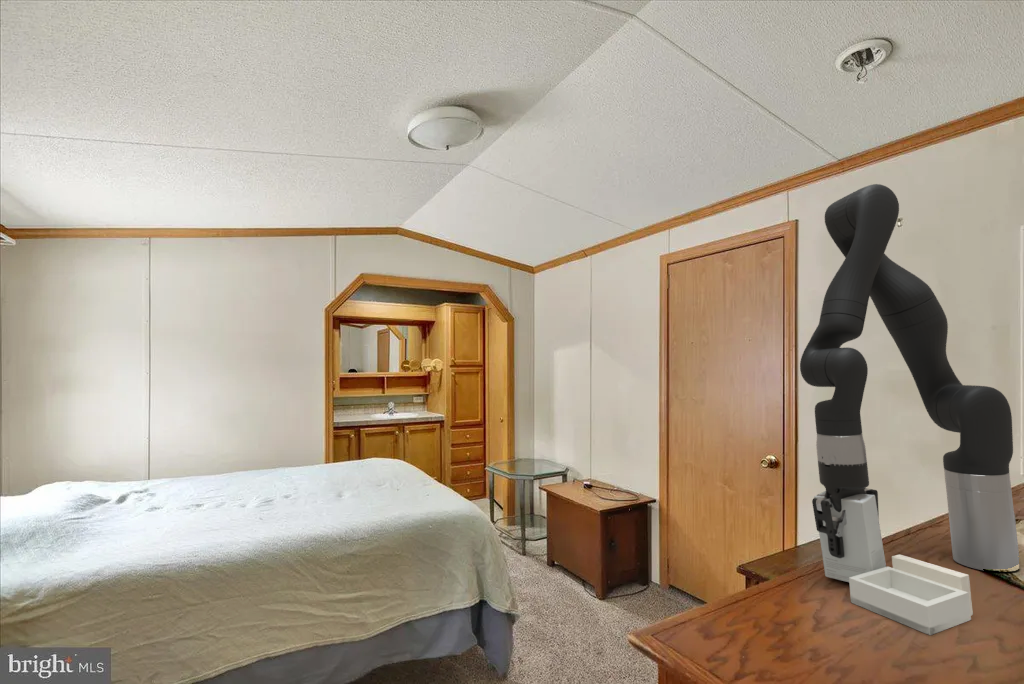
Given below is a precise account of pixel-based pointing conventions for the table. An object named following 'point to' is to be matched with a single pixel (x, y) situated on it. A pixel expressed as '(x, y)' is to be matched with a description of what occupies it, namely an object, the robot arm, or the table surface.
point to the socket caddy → (910, 599)
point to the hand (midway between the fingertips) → (850, 552)
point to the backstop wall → (933, 573)
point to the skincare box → (855, 539)
